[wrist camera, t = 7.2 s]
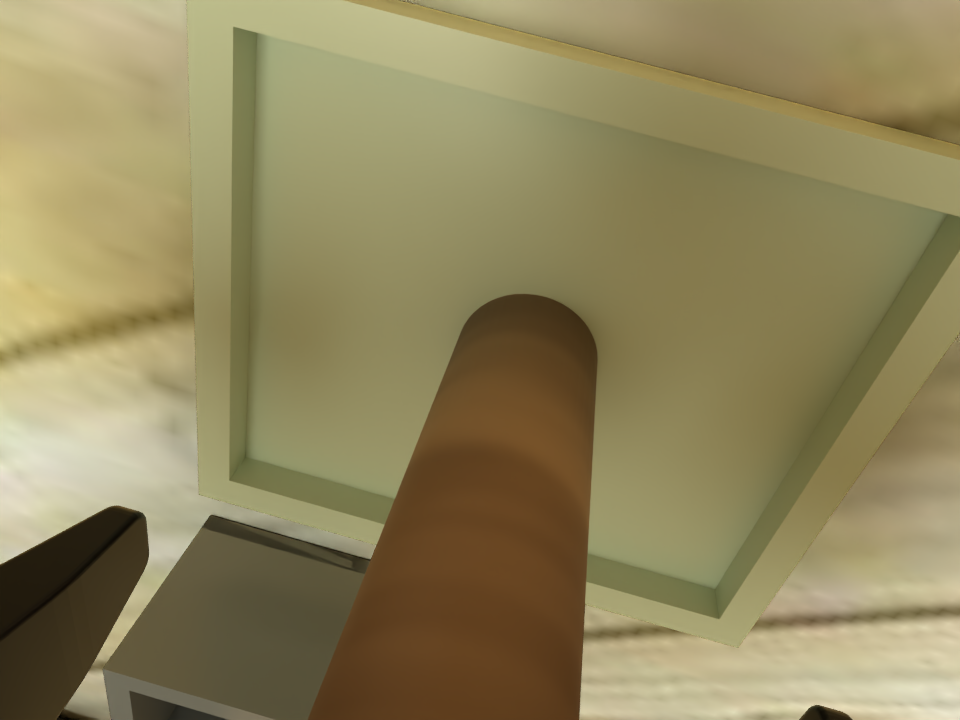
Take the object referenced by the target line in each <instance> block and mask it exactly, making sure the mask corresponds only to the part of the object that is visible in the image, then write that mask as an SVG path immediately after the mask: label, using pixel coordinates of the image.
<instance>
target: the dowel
mask: <svg viewBox="0 0 960 720" xmlns="http://www.w3.org/2000/svg"><path fill="white" fill-rule="evenodd" d="M597 362H598V357H597V348H596V343H595V340H594V338H593V335H592V333H591V331H590V330H589V328H588V326H587V325H586V324H585V322H584V321H583V320H582V319H581V318H580V317H579V316H578V315H577V314H576V313H575V312H574V311H572V310H571V309H570V308H568V307H567V306H565V305H563V304H562V303H560V302H557V301H555V300H553V299H550V298H547V297H544V296H539V295H534V294H513V295H506V296H503V297H499V298H496V299H494V300H492V301H489V302H487V303H486V304H484V305H482V306H481V307H480V308H478V309H477V310H476V311H475V312H474V313H473V314H472V315H471V316H470V317H469V318H468V320H467V321H466V323H465V324H464V326H463V328H462V330H461V333H460V335H459V338H458V340H457V343H456V345H455V348H454V351H453V353H452V356H451V358H450V361H449V363H448V366H447V368H446V371H445V373H444V376H443V378H442V381H441V383H440V386H439V388H438V391H437V394H436V396H435V399H434V401H433V404H432V406H431V409H430V411H429V414H428V416H427V419H426V421H425V424H424V426H423V429H422V431H421V434H420V437H419V439H418V442H417V444H416V447H415V449H414V452H413V454H412V457H411V459H410V462H409V464H408V467H407V469H406V472H405V474H404V477H403V480H402V482H401V485H400V487H399V490H398V492H397V495H396V497H395V500H394V502H393V505H392V507H391V510H390V512H389V515H388V517H387V520H386V523H385V525H384V528H383V530H382V533H381V535H380V538H379V540H378V543H377V545H376V548H375V550H374V553H373V555H372V558H371V560H370V563H369V566H368V568H367V571H366V573H365V576H364V578H363V581H362V583H361V586H360V588H359V591H358V593H357V596H356V598H355V601H354V603H353V606H352V609H351V611H350V614H349V616H348V619H347V621H346V624H345V626H344V629H343V631H342V634H341V636H340V639H339V641H338V644H337V646H336V649H335V652H334V654H333V657H332V659H331V662H330V664H329V667H328V669H327V672H326V674H325V677H324V679H323V682H322V684H321V687H320V689H319V692H318V695H317V697H316V700H315V702H314V705H313V707H312V710H311V712H310V715H309V717H308V720H579V711H580V692H581V672H582V653H583V634H584V614H585V595H586V576H587V556H588V537H589V517H590V498H591V479H592V459H593V440H594V420H595V401H596V382H597Z"/></svg>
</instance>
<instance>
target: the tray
mask: <svg viewBox="0 0 960 720" xmlns="http://www.w3.org/2000/svg"><path fill="white" fill-rule="evenodd" d="M186 2H187V41H188V81H189V121H190V161H191V201H192V241H193V281H194V321H195V361H196V401H197V441H198V481H199V495H202V496H205V497H209V498H212V499H216V500H219V501H223V502H226V503H230V504H233V505H237V506H240V507H244V508H247V509H251V510H255V511H258V512H262V513H265V514H269V515H272V516H276V517H279V518H283V519H286V520H290V521H293V522H297V523H300V524H304V525H307V526H311V527H314V528H318V529H321V530H325V531H328V532H332V533H335V534H339V535H342V536H346V537H349V538H353V539H357V540H360V541H364V542H367V543H371V544H374V545H377V543H378V540H379V538H380V535H381V533H382V530H383V528H384V525H385V523H386V520H387V517H388V515H389V512H390V510H391V507H392V505H393V502H394V500H395V497H396V495H397V492H398V490H399V487H400V485H401V482H402V480H403V477H404V474H405V472H406V469H407V467H408V464H409V462H410V459H411V457H412V454H413V452H414V449H415V447H416V444H417V442H418V439H419V437H420V434H421V431H422V429H423V426H424V424H425V421H426V419H427V416H428V414H429V411H430V409H431V406H432V404H433V401H434V399H435V396H436V394H437V391H438V388H439V386H440V383H441V381H442V378H443V376H444V373H445V371H446V368H447V366H448V363H449V361H450V358H451V356H452V353H453V351H454V348H455V345H456V343H457V340H458V338H459V335H460V333H461V330H462V328H463V326H464V324H465V323H466V321H467V320H468V318H469V317H470V316H471V315H472V314H473V313H474V312H475V311H476V310H477V309H478V308H480V307H481V306H482V305H484V304H486V303H487V302H489V301H492V300H494V299H496V298H499V297H503V296H506V295H513V294H534V295H539V296H544V297H547V298H550V299H553V300H555V301H557V302H560V303H562V304H563V305H565V306H567V307H568V308H570V309H571V310H572V311H574V312H575V313H576V314H577V315H578V316H579V317H580V318H581V319H582V320H583V321H584V322H585V324H586V325H587V326H588V328H589V330H590V331H591V333H592V335H593V338H594V340H595V343H596V348H597V357H598V362H597V382H596V401H595V420H594V440H593V459H592V479H591V498H590V517H589V537H588V556H587V576H586V595H585V605H589V606H592V607H596V608H599V609H603V610H606V611H610V612H613V613H617V614H620V615H624V616H627V617H631V618H634V619H638V620H641V621H645V622H648V623H652V624H655V625H659V626H662V627H666V628H670V629H673V630H677V631H680V632H684V633H687V634H691V635H694V636H698V637H701V638H705V639H708V640H712V641H715V642H719V643H722V644H726V645H729V646H733V647H736V648H738V647H739V646H740V644H741V643H742V642H743V640H744V639H745V637H746V636H747V635H748V633H749V632H750V630H751V629H752V627H753V626H754V625H755V623H756V622H757V620H758V619H759V617H760V616H761V615H762V613H763V612H764V610H765V609H766V607H767V606H768V605H769V603H770V602H771V600H772V599H773V597H774V596H775V595H776V593H777V592H778V590H779V589H780V588H781V586H782V585H783V583H784V582H785V580H786V579H787V578H788V576H789V575H790V573H791V572H792V570H793V569H794V568H795V566H796V565H797V563H798V562H799V560H800V559H801V558H802V556H803V555H804V553H805V552H806V551H807V549H808V548H809V546H810V545H811V543H812V542H813V541H814V539H815V538H816V536H817V535H818V533H819V532H820V531H821V529H822V528H823V526H824V525H825V523H826V522H827V521H828V519H829V518H830V516H831V515H832V513H833V512H834V511H835V509H836V508H837V506H838V505H839V504H840V502H841V501H842V499H843V498H844V496H845V495H846V494H847V492H848V491H849V489H850V488H851V486H852V485H853V484H854V482H855V481H856V479H857V478H858V476H859V475H860V474H861V472H862V471H863V469H864V468H865V467H866V465H867V464H868V462H869V461H870V459H871V458H872V457H873V455H874V454H875V452H876V451H877V449H878V448H879V447H880V445H881V444H882V442H883V441H884V439H885V438H886V437H887V435H888V434H889V432H890V431H891V430H892V428H893V427H894V425H895V424H896V422H897V421H898V420H899V418H900V417H901V415H902V414H903V412H904V411H905V410H906V408H907V407H908V405H909V404H910V402H911V401H912V400H913V398H914V397H915V395H916V394H917V392H918V391H919V390H920V388H921V387H922V385H923V384H924V383H925V381H926V380H927V378H928V377H929V375H930V374H931V373H932V371H933V370H934V368H935V367H936V365H937V364H938V363H939V361H940V360H941V358H942V357H943V355H944V354H945V353H946V351H947V350H948V348H949V347H950V346H951V344H952V343H953V341H954V340H955V338H956V337H957V336H958V334H959V333H960V145H957V144H953V143H949V142H945V141H941V140H937V139H934V138H930V137H926V136H922V135H918V134H914V133H910V132H907V131H903V130H899V129H895V128H891V127H887V126H883V125H880V124H876V123H872V122H868V121H864V120H860V119H856V118H852V117H849V116H845V115H841V114H837V113H833V112H829V111H825V110H822V109H818V108H814V107H810V106H806V105H802V104H798V103H794V102H791V101H787V100H783V99H779V98H775V97H771V96H767V95H764V94H760V93H756V92H752V91H748V90H744V89H740V88H736V87H733V86H729V85H725V84H721V83H717V82H713V81H709V80H706V79H702V78H698V77H694V76H690V75H686V74H682V73H678V72H675V71H671V70H667V69H663V68H659V67H655V66H651V65H648V64H644V63H640V62H636V61H632V60H628V59H624V58H620V57H617V56H613V55H609V54H605V53H601V52H597V51H593V50H590V49H586V48H582V47H578V46H574V45H570V44H566V43H562V42H559V41H555V40H551V39H547V38H543V37H539V36H535V35H532V34H528V33H524V32H520V31H516V30H512V29H508V28H504V27H501V26H497V25H493V24H489V23H485V22H481V21H477V20H474V19H470V18H466V17H462V16H458V15H454V14H450V13H446V12H443V11H439V10H435V9H431V8H427V7H423V6H419V5H416V4H412V3H408V2H404V1H400V0H186Z"/></svg>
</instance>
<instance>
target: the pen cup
mask: <svg viewBox="0 0 960 720" xmlns="http://www.w3.org/2000/svg"><path fill="white" fill-rule="evenodd" d="M369 563H370V561H369V560H365V559H362V558H358V557H355V556H351V555H348V554H344V553H341V552H337V551H334V550H330V549H327V548H323V547H320V546H316V545H313V544H309V543H306V542H302V541H299V540H295V539H292V538H288V537H285V536H281V535H278V534H274V533H271V532H267V531H264V530H260V529H257V528H253V527H250V526H246V525H243V524H239V523H236V522H232V521H229V520H225V519H222V518H218V517H214V516H211V515H210V517H209V518H208V519H207V521H206V522H205V524H204V525H203V526H202V528H201V529H200V531H199V532H198V534H197V535H196V536H195V538H194V539H193V541H192V542H191V544H190V545H189V546H188V548H187V549H186V551H185V552H184V554H183V555H182V556H181V558H180V559H179V561H178V562H177V564H176V565H175V566H174V568H173V569H172V571H171V572H170V574H169V575H168V576H167V578H166V579H165V581H164V582H163V584H162V585H161V586H160V588H159V589H158V591H157V592H156V594H155V595H154V596H153V598H152V599H151V601H150V602H149V604H148V605H147V606H146V608H145V609H144V611H143V612H142V613H141V615H140V616H139V618H138V619H137V621H136V622H135V623H134V625H133V626H132V628H131V629H130V631H129V632H128V633H127V635H126V636H125V638H124V639H123V641H122V642H121V643H120V645H119V646H118V648H117V649H116V651H115V652H114V653H113V655H112V656H111V658H110V659H109V661H108V662H107V663H106V665H105V666H104V668H103V674H104V680H105V686H106V692H107V698H108V704H109V710H110V716H111V720H308V717H309V715H310V712H311V710H312V707H313V705H314V702H315V700H316V697H317V695H318V692H319V689H320V687H321V684H322V682H323V679H324V677H325V674H326V672H327V669H328V667H329V664H330V662H331V659H332V657H333V654H334V652H335V649H336V646H337V644H338V641H339V639H340V636H341V634H342V631H343V629H344V626H345V624H346V621H347V619H348V616H349V614H350V611H351V609H352V606H353V603H354V601H355V598H356V596H357V593H358V591H359V588H360V586H361V583H362V581H363V578H364V576H365V573H366V571H367V568H368V566H369Z"/></svg>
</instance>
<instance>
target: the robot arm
mask: <svg viewBox="0 0 960 720" xmlns="http://www.w3.org/2000/svg"><path fill="white" fill-rule="evenodd" d="M148 557H149V546H148V534H147V523H146V517H145V516H144V514H143V513H141V512H139V511H136V510H132V509H129V508H125V507H122V506H111V507H108V508H106V509H104V510H102V511H100V512H98V513H96V514H95V515H93V516H91V517H89V518H87V519H85V520H83V521H81V522H80V523H78V524H76V525H74V526H72V527H70V528H68V529H66V530H65V531H63V532H61V533H59V534H57V535H55V536H53V537H51V538H50V539H48V540H46V541H44V542H42V543H40V544H38V545H36V546H35V547H33V548H31V549H29V550H27V551H25V552H23V553H21V554H20V555H18V556H16V557H14V558H12V559H10V560H8V561H6V562H5V563H3V564H1V565H0V720H65V719H61V718H58V716H59V715H60V713H61V712H62V711H63V709H64V708H65V706H66V705H67V703H68V702H69V700H70V699H71V697H72V696H73V695H74V693H75V691H76V690H77V688H78V687H79V685H80V684H81V682H82V681H83V679H84V678H85V676H86V674H87V673H88V671H89V669H90V667H91V666H92V664H93V662H94V661H95V659H96V657H97V655H98V653H99V652H100V650H101V648H102V646H103V644H104V642H105V641H106V639H107V637H108V635H109V633H110V632H111V630H112V628H113V626H114V624H115V622H116V621H117V619H118V617H119V615H120V613H121V612H122V610H123V608H124V606H125V604H126V602H127V601H128V599H129V597H130V595H131V593H132V592H133V590H134V588H135V586H136V584H137V583H138V581H139V579H140V577H141V575H142V573H143V572H144V570H145V567H146V565H147V561H148ZM799 720H852V719H851V718H850V717H849V716H848V715H847V714H845V713H843V712H841V711H838V710H834V709H831V708H827V707H824V706H820V705H815V706H812V707H810V708H809V709H808V710H807V711H806V712H805V714H804V715H803V716H802V717H801V718H800V719H799Z"/></svg>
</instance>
